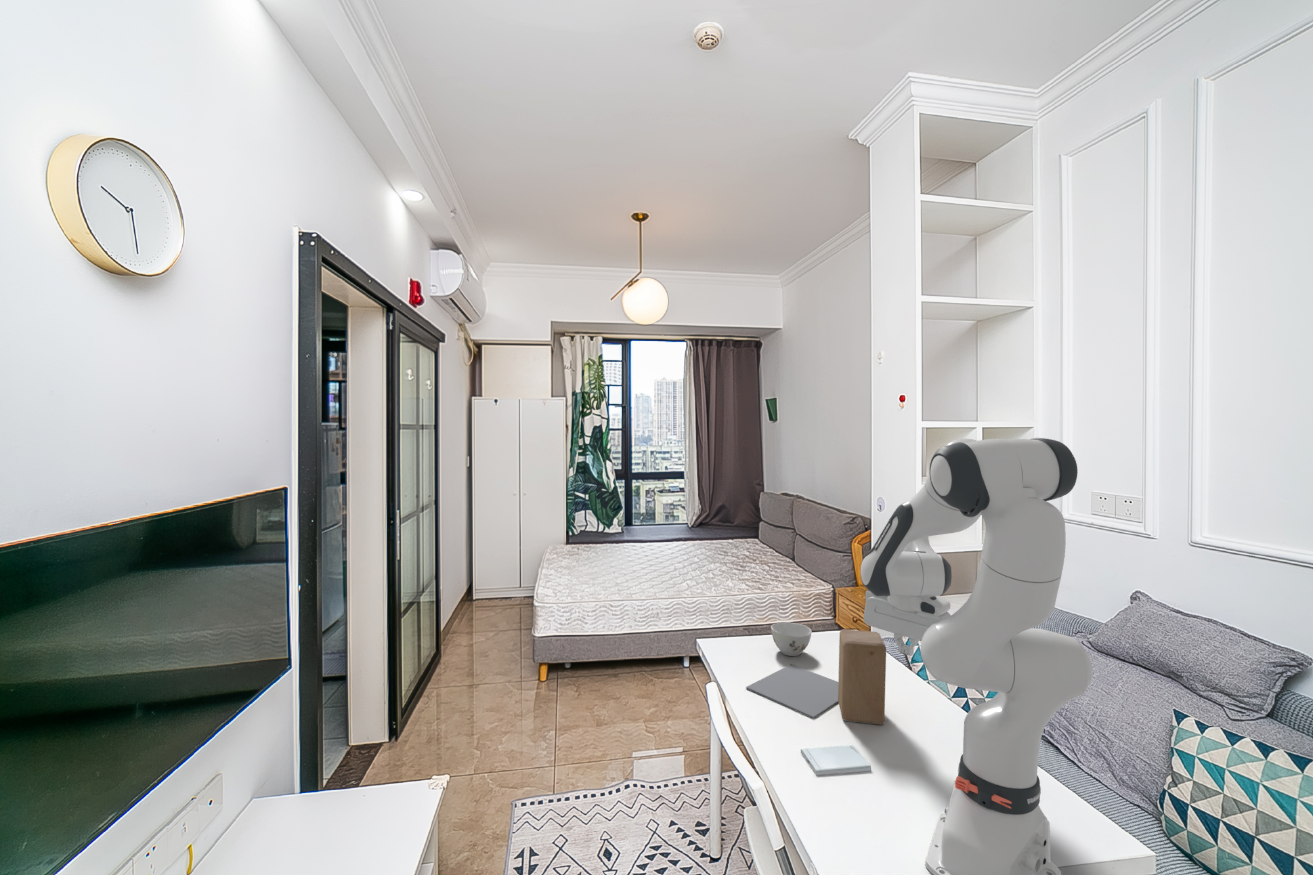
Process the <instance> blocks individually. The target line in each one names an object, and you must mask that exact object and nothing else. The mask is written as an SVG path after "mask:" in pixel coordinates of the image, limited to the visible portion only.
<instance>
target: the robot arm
mask: <svg viewBox="0 0 1313 875" xmlns="http://www.w3.org/2000/svg"><path fill="white" fill-rule="evenodd" d="M928 471H929V472H928V474H927V478H926V479H925V483H924V484H923V486H922V487H921V489H919V491H918V492H917V493H916V494H915V495H913V496H912V497H911V498H910V499H908V500H907V501H905V502H903V503H901V504H900V505H898V506H897V508H895V510H894V511H893V513H892V515H891V516H890V518H889V519H888V521H887V523H886V524H885V526H884V528H883V529H882V531H881V532H880V535H878V538H877V540H876V542H875V543H874V545H873V547H872V548H871V549H870V550H868V552H867V553H866V554H865V555H864V557H862V561H861V563H860V564H861V565H860V579H861V582H862V585H863V586H864V587H865V588H866V589H867V590H866V591H865V595H864V596H865V598H864V600H865V607H864V611H863V612H864V613H863V621H864V623H865V625H867V626H869V627H871V628H872V627H873V628H876V629H879V630H882V631H886V632H889V633H893V639H894V641H895V642H896V644H897V646H898V648H897V649H898V650H897V651H898V653H900V654H904V655H906V656H909V657H912V656H914V650H915V649H914V648H915V647H916V646H917V644H918V643H919V642H920V655H921V659H922V662H923V664H924V666H925V669H926V670H927V671H928V672H929V674H930V675H931V676H932V677H933V679H935V680H936V681H939V682H942V683H945V684H948V685H952V686H956V687H959V688H962V689H968V690H976V691H985V692H986V691H987V692H995V693H996V694H995V695H994V696H993V697H992V698H991V699H989V700H988V701H984V702H982V703H979V704H977V705H975V706H973V707H972V708H970V710H969V711H968V712H967V714H966V716H965V718H964V720H963V738H962V739H963V740H962V741H963V742H962V746H963V747H962V754H961V755H960V760H959V763H958V768H957V776H956V778H954V779H953V788H952V793H951V795H950V800H949V804H948V806H945V809H944V812H941V813H940V814H939V816H938V819H937V822H936V825H935V829H934V832H933V835H932V839H931V842H930V844H929V847H928V850H927V854H926V858H925V864H924V865H925V868H926V869H927V870H928V871H929V872H930V874H931V875H1063V874H1062V871H1061V870H1060V868H1059V867H1058V866H1057V865H1056V864H1055V863H1054V862H1053V861H1052V860H1051V830H1050V829H1051V826H1050V821H1049V820H1048V818H1047V816H1046V814H1045V813H1044V812H1043V811H1042V809H1041V807H1040V802H1041V801H1040V800H1041V799H1040V798H1041V793H1042V792H1041V791H1042V790H1041V781H1040V778H1039V775H1038V768H1039V767H1038V766H1039V765H1038V764H1039V754H1040V748H1041V741H1042V736H1043V733H1044V730H1045V729H1046V726H1047V725H1048V723H1049V722H1050V720H1051V718H1052V717H1053V716H1054V715H1055V714H1056V713H1057V712H1058V711H1059V710H1060V709H1061V708H1062V707H1063V706H1065V705H1066V704H1067V703H1068V702H1070V701H1072V700H1074V699H1076V698H1078V697H1081V696H1082V695H1084V694H1085V693H1086V692H1087V691H1088V689H1089V687H1090V685H1091V683H1092V682H1093V681H1092V680H1093V675H1094V674H1093V665H1092V660H1091V658H1090V656H1089V654H1088V652H1087V651H1086V649H1085V647H1084V646H1083V645H1082V644H1081V642H1079V641H1078V640H1077V639H1075V637H1072V636H1070V635H1065V634H1063V633H1059V632H1056V631H1051V630H1048V629H1043V628H1036V627H1037V626H1040V625H1042V624H1043V623H1044V622H1046V621H1047V620H1048V619H1049V618H1051V616H1052V614H1053V612H1054V611H1055V607H1056V602H1057V597H1058V593H1059V588H1060V585H1061V584H1060V583H1061V579H1062V575H1063V569H1064V564H1065V557H1066V544H1067V543H1066V539H1067V538H1066V521H1065V518H1064V516H1063V514H1062V513H1061V512H1062V511H1060V510H1059V509H1058V508H1057V507H1056V506H1055V505H1054V504H1052V503H1050V502H1049V501H1053V500H1055V499H1059V498H1062V497H1064V496H1066V495H1068V494H1069V493H1070V492H1071V491H1072V490H1073V489H1074V487H1075V485H1076V483H1077V479H1078V464H1077V460H1076V458H1075V456H1074V454H1073V452H1072V451H1071V450H1070V448H1069V447H1068V446H1067V445H1065V444H1064V443H1063V442H1060V441H1058V440H1055V439H1051V438H1045V437H1042V438H1041V437H1034V438H1033V437H1032V438H1029V439H1028V438H986V439H979V440H977V439H972V438H959V439H954V440H952V441H950V442H949V443H947V444H946V445H944V446H941V447H940V448H938V449H936V451H935V452H934V454H933V456H932V457H931V459H930V463H929V470H928ZM981 516H982V518H983V520H984V524H985V525H984V526H985V533H984V539H983V543H982V549H981V555H980V561H979V566H978V570H977V576H976V579H975V583H974V588H973V590H972V592H971V594H970V596H969V597H968V599H967V600H966V601H965V602H964V604H963V605H961V606H960V607H959V609H957V610H956V611H954V613H953V614H951V613H949V610H950V609H951V602H950V600H947V599H945V598H944V597H942V596H943V595H944V594H945V593H946V592H947V591H948V590H949V589H950V587H951V586H952V577H953V576H952V574H953V573H952V566H951V563H950V562H948V560H947V559H946V558H945V557H944V556H943V555H942V554H940V553H937V552H936V551H935V550H934V549H933V548H932V546H931V545H930V539H929V537H933V536H939V535H940V536H941V535H949V534H954V533H960V532H962V531H966V530H967V529H969V528H970V527H971V526H973V525H974V524H975V523H976V522H977V521H978V520H979V519H980V517H981ZM903 637H906V638H908V640H909V642H910V644H909V645H908V644H905V643H904V641H903Z"/></svg>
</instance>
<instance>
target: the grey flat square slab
mask: <svg viewBox="0 0 1313 875" xmlns="http://www.w3.org/2000/svg"><path fill="white" fill-rule="evenodd" d="M838 683H839V681H837V680H835V679H831V678H828V677H826V676H824V675H822V674H818V673H815V672H813V671H810V670H807V669H805V668H802V667H800V666H797V665H796V664H795V665H794V664H792V663H791V664H789V665H787V666H785V667H782V668H781V669H779V670H777V671H775V672H773V673H771V674H769V675H767V676H765V677H763V678H761V679H759V680H757V681H755V682H753V683H751V684H749V685H747V686H745V689H747V690H748V691H750V692H753V693H755V694H757V695H759V696H761V697H764V698H766V699H768V700H770V701H773V702H774V703H777V704H779V705H782V706H784V707H786V708H788V709H791V710H793V711H795V712H797V713H800V714H801V715H804V716H807V717H809V718H811V719H815V718H817V717H819V716H820V715H822V714H823V713H825V712H826V711H828V710H830V709H831V708H832V707H834V706H835V705H837V704H839V702H838Z"/></svg>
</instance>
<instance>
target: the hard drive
mask: <svg viewBox="0 0 1313 875" xmlns="http://www.w3.org/2000/svg"><path fill="white" fill-rule="evenodd" d="M800 754H801V755H802V757H803V758H804V760H805V761H806V762H807V764H808V765H809V767H810V769H811V770H812V771H813V773H814V774H815V776H820V775H823V776H824V775H832V774H833V775H834V774H845V773H847V774H848V773H857V772H858V773H859V772H870V771H872V765H871V764H870V762H869V761H868V760H867V759H866V758H865V756H863V754H862V753H861V752H860V750H858V749H857V747H856V746H855V745H854V744H844V745H843V744H842V745H832V746H822V747H821V746H820V747H808V748H807V747H806V748H800Z"/></svg>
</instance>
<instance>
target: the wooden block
mask: <svg viewBox="0 0 1313 875" xmlns="http://www.w3.org/2000/svg"><path fill="white" fill-rule="evenodd" d="M838 644H839V647H838V648H839V650H838V682H839V683H838V705H839V711H840V714H841V717H842V718H841V719H843V721H846V722H852V723H853V722H854V723H861V724H862V723H863V724H872V725H877V726H878V725H880V726H881V725H884V722H885V714H886V713H885V712H886V709H885V708H886V707H885V706H886V676H887V675H886V671H887V670H886V669H887V668H886V667H887V666H886V665H887V647H886V644H885V643H884V640H883V639H882V636H881V634H880V633H879V632H878V631H869V630H859V629H858V630H856V629H847V628H846V629H845V628H844V629H840V631H839V643H838Z"/></svg>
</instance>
